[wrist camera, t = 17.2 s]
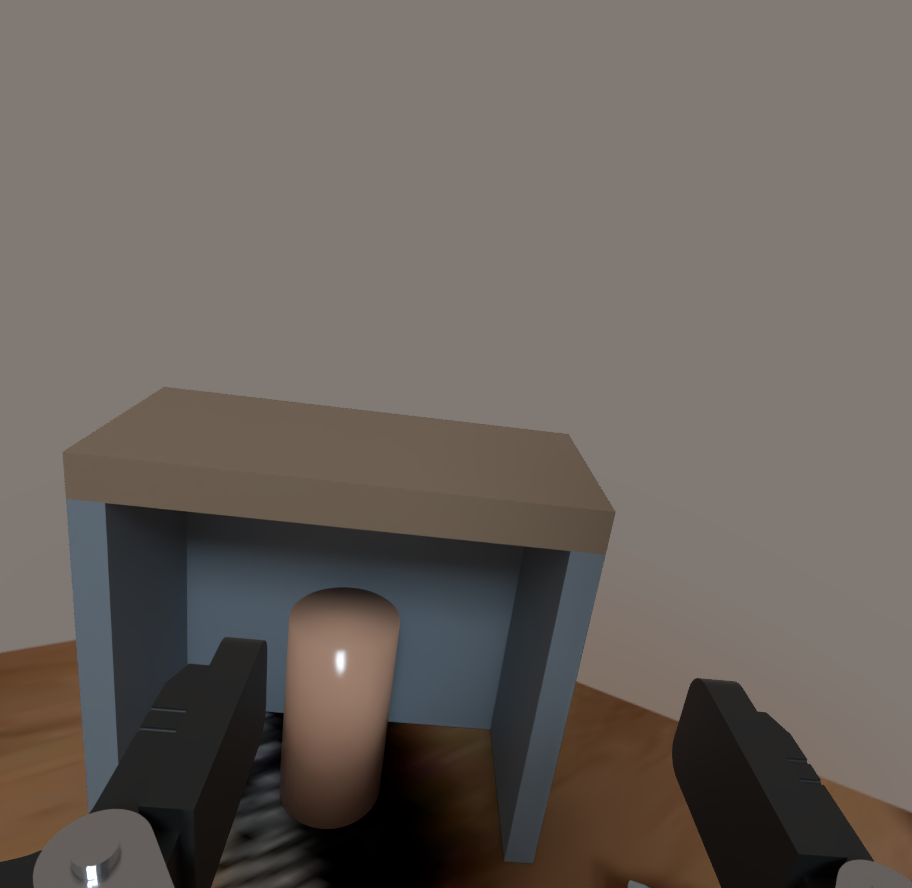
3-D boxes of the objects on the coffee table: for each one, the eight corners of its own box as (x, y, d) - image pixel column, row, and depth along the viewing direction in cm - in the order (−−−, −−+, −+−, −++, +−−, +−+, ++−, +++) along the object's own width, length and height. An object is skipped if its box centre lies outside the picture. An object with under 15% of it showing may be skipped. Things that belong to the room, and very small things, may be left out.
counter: (511, 720, 43) (568, 434, 36) (533, 863, 33) (615, 512, 27) (168, 691, 41) (163, 387, 35) (90, 833, 32) (62, 452, 25)
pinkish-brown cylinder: (383, 750, 39) (402, 592, 35) (375, 832, 34) (397, 657, 30) (290, 742, 39) (301, 582, 35) (268, 824, 33) (277, 646, 30)
